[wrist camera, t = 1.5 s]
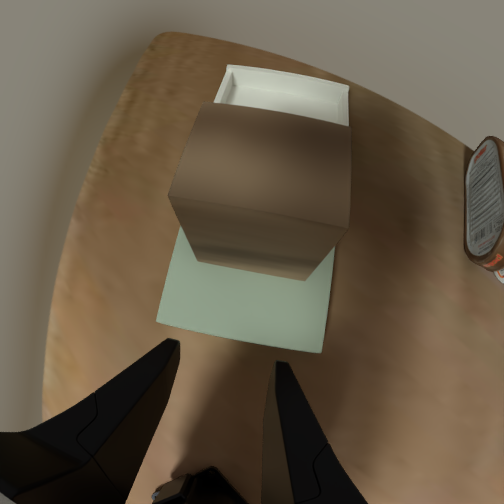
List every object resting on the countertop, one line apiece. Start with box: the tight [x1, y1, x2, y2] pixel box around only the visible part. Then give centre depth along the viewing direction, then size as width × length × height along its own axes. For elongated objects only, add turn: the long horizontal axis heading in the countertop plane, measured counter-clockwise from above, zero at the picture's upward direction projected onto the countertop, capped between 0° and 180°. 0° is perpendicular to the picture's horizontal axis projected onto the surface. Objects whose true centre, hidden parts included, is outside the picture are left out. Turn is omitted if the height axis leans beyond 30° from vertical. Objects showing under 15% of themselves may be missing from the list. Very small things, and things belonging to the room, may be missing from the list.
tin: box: [464, 136, 504, 272], centre depth 23 cm, size 15×3×8 cm, turn 160°
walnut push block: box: [168, 102, 352, 281], centre depth 19 cm, size 6×8×10 cm
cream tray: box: [214, 65, 349, 126], centre depth 28 cm, size 9×13×3 cm, turn 79°
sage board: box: [156, 226, 335, 353], centre depth 25 cm, size 18×12×2 cm, turn 169°
